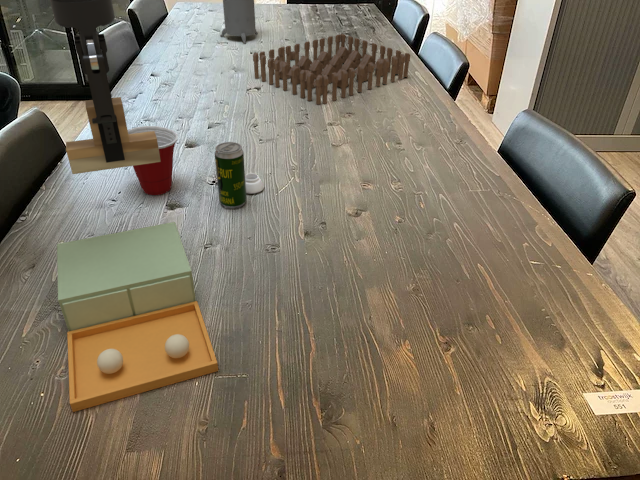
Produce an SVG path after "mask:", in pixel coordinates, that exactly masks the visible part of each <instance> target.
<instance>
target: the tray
mask: <svg viewBox="0 0 640 480" xmlns="http://www.w3.org/2000/svg"><path fill="white" fill-rule="evenodd" d="M66 334H67V364H68V365H67V366H68V391H69V392H68V394H69V396H68V397H69V406H70V408H71V411H72V413H74V412H78V411H82V410H85V409H86V410H87V409H89V408H93V407H96V406H99V405H104V404H107V403H111V402H113V401H117V400H121V399H125V398H128V397H132V396H135V395H140V394H142V393H145V392H149V391H153V390H156V389H160V388H163V387H167V386H170V385H173V384H177V383H180V382H185V381H189V380H192V379H196V378H198V377H202V376H205V375H209V374H213V373H216V372H219V364H218V360H217V357H216V354H215V351H214V347H213V345H212V342H211V338H210V336H209V333H208V329H207V327H206V323H205V321H204V317H203V315H202V311H201V308H200V306H199V302H198V300H196V301H195V302H191V303H186V304H182V305H178V306H174V307H170V308H165V309H161V310H157V311H153V312H149V313H144V314H140V315H136V316H132V317H128V318H123V319H119V320H115V321H111V322H107V323H102V324H98V325H94V326H90V327H86V328H82V329H77V330H73V331H67V333H66ZM176 334H180V335H183V336H185V337H186V338H187V340H188V342H189V350H188V352H187V354H186V355H185V356H183V357H181V358H172V357H170V356H169V355H168V354H167V353H166V351H165V343H166V341H167V339H168V338H169V337H171V336H172V335H176ZM107 349H115V350H118V351H119V352H120V353H121V354H122V356H123V365H122V367H121V368H120V369H119V370H118V371H117V372H115V373H112V374H106V373H103V372H102V371H101V370H100V369H99V368H98V365H97V359H98V357H99V355H100V354H101V353H102V352H103V351H105V350H107Z"/></svg>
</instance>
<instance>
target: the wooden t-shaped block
mask: <svg viewBox="0 0 640 480" xmlns="http://www.w3.org/2000/svg"><path fill="white" fill-rule="evenodd" d="M111 98H112V103H113V108H114V113H115V115H116V117H117V123H118V128H119V133H120V138H121V143H122V147H123V152H124V157H125V160H122V161H115V162H108V163H106V159H105V154H104V150H103V145H102V141H101V137H100V132H99V128H98V123H95V124H93V123H92V119H93V118H96V117H97V116H96V112H95V108H94V103H93V99H89V100H84V101H85V102H84V103H85V110H86V115H87V118H88V123H89V127H90V131H91V135H92V136H91V137H92V138H88V139H80V140H71V141H66V142H65V153H66V155H67V159H68V163H69V166H70V170H71V174H72V175H78V174H85V173H92V172H99V171H105V170H113V169H119V168H127V167H133V166H135V165H142V164H149V163H156V162H161V160H160V154H159V148H158V142H157V137H156V134H155V131H151V132H143V133H135V134H128V130H129V129H128V124H127V119H126V115H125V110H124V104H123V101H122V96H117V97H111Z"/></svg>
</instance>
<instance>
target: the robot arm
mask: <svg viewBox="0 0 640 480" xmlns="http://www.w3.org/2000/svg"><path fill="white" fill-rule="evenodd" d="M49 2H50V7H51V10H52V15H53V19H54V22H55V24H57V25H58V26H59V27H63V28H65V29H72V28H74V29H76V30H77V31H78V35H73V40H74V41H73V42H74V46H75V47H74V48H75V52H76V54H77V55H78V56H79V60H80V65H81V69H82V72H83V74H84V75H86V77H87V81H88V85H89V91H90V94H91V100H93V103H94V108H95V112H96V116H97V117H96V118H93V119H92V123H93V124H95V123H98V128H99V132H100V137H101V141H102V145H103V150H104V154H105V159H106V163H108V162H115V161H122V160H125V157H124V152H123V147H122V143H121V138H120V133H119V128H118V123H117V117H116V115H115V113H114V108H113V103H112V98H113V97H112V96H113V95H112V93H111V89H110V84H109V80H108V73H109V71H110V66H109V62H108V61H109V60H108V57H107V52H108V47H107V42H106V38H105V34H104V33H99V31H98V30H97V28H99V27H105V26H109V25H110V24H112V23H113V22H114V21H115V17H116V15H115V10H114V5H113V0H49Z"/></svg>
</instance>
